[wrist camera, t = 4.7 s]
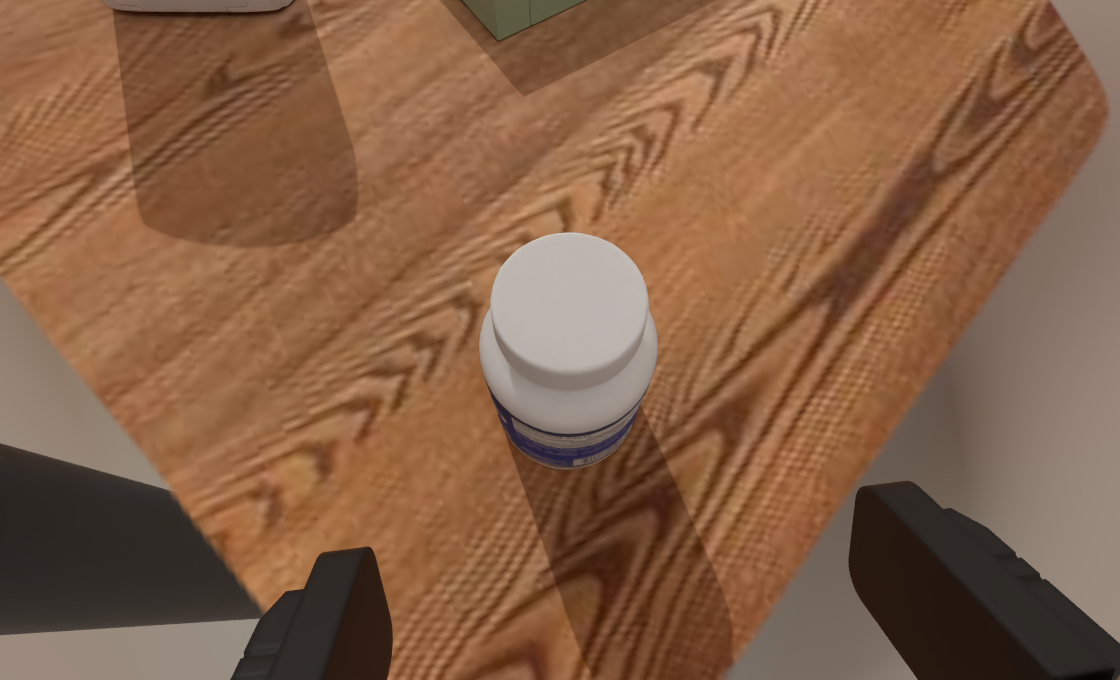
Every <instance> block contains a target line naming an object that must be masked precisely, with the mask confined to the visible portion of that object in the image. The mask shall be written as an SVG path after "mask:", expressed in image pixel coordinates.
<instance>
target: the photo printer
mask: <svg viewBox="0 0 1120 680" xmlns="http://www.w3.org/2000/svg"><path fill="white" fill-rule="evenodd" d="M102 1H103V3H104V4H105V5H107V6H108V7H110V8H113V9H117V10H125V11H140V12H144V11H148V12H261V11H271V10H278V9H281V7H286V6H288V5H289V4H290V3H291V2H292V1H293V0H102Z"/></svg>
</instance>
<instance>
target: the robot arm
mask: <svg viewBox="0 0 1120 680" xmlns="http://www.w3.org/2000/svg"><path fill="white" fill-rule="evenodd" d="M849 571H850V576H851V579H852V583H853V585H854V588H855V590H856V592H857V594H858V596H859V598H860V599H861V601H862V602H863V604H864V605H865V607H866V608H867V609H868V611H869V612H870V613H871V615H872V616H873V618H874V619H875V620H876V622H877V623H878V624H879V626H880V627H881V629H882V630H883V631H884V633H885V634H886V636H887V637H888V639H889V640H890V641H891V643H892V644H893V646H894V647H895V648H896V650H897V651H898V652H899V654H900V655H901V656H902V658H903V659H904V661H905V662H906V664H907V665H908V666H909V667H910V669H911V671H912V672H913V673H914V675H915V676H916V678H917V679H918V680H1120V643H1118V642H1117V641H1116V640H1115V639H1114V638H1113V637H1112V636H1110V635H1109V634H1108V633H1107V632H1106V631H1105V630H1104V629H1102V628H1101V627H1100V626H1099V625H1098V624H1097V623H1096V622H1094V621H1093V620H1092V619H1091V618H1090V617H1089V616H1087V615H1086V614H1085V613H1084V612H1083V611H1082V610H1081V609H1080V608H1078V607H1077V606H1076V605H1075V604H1074V603H1073V602H1071V601H1070V600H1069V599H1068V598H1067V597H1066V596H1065V595H1063V594H1062V593H1061V592H1060V591H1059V590H1058V589H1057V588H1056V587H1054V586H1053V585H1052V584H1051V583H1050V582H1049V581H1047V580H1046V579H1044V580H1042V579H1041V577H1040V573H1038V572H1037V571H1036V570H1035V569H1034V568H1033V567H1032V566H1030V565H1029V564H1028V563H1027V562H1026V561H1025V560H1024V559H1022V558H1017V556H1016V554H1015V552H1014V551H1013V550H1012V549H1011V548H1010V547H1009V546H1008V545H1006V544H1005V543H1004V542H1003V541H1002V540H1001V539H1000V538H998V537H997V536H996V535H995V534H994V533H992V531H990V530H989V529H988V528H987V527H985V526H983V525H981V524H979V523H978V522H976V521H974V520H972V519H970V518H968V517H966V516H964V515H962V514H961V513H959V512H957V511H955V510H953V509H951V508H948V509H943V508H941V507H940V506H939V505H938V504H937V503H936V502H935V501H934V500H933V499H932V498H931V497H930V496H928V495H927V494H926V493H925V492H924V491H923V490H922V489H921V488H920V487H919V486H917V485H916V484H914V483H913V482H910V481H901V482H893V483H886V484H878V485H869V486H863V487H861V488H860V489H859V490H858V492H857V494H856V499H855V508H854V516H853V525H852V533H851V542H850V551H849ZM392 645H393V634H392V622H391V617H390V613H389V609H388V605H387V601H386V597H385V593H384V589H383V585H382V581H381V577H380V573H379V569H378V565H377V561H376V557H375V554H374V552H373V550H372V548H370V547H362V548H354V549H346V550H338V551H330V552H323V553H321V554H320V555H319V556H318V558H317V560H316V562H315V564H314V566H313V569H312V571H311V573H310V576H309V578H308V581H307V583H306V585H305V588H304V589H301V590H293V591H286V592H285V593H284V594H283V595H282V596H281V597H280V598H279V599H278V601H277V602H276V603H275V604H274V605H273V606H272V607H271V608H270V609H269V610H268V611H267V612H266V613H265V615H264V616H263V617H262V618H261V619H260V620H259V622H258V624H257V626H256V628H255V630H254V632H253V634H252V636H251V638H250V640H249V643H248V645H247V647H246V649H245V651H244V658H242V659H240V661H239V663H238V665H237V667H236V669H235V672H234V673H233V676H232V678H231V680H387V677H388V672H389V667H390V663H391V657H392Z"/></svg>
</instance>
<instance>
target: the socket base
mask: <svg viewBox="0 0 1120 680" xmlns="http://www.w3.org/2000/svg"><path fill="white" fill-rule="evenodd" d="M462 1H463V2H464V3H465V4H466V5H467V6H468V8H469V9H470V10H471V11H472V12H473V13H474V14H475V15H476V17H477V18H478V19H479V20H480V21H481V22H482V23H483V24H484V26H485V27H486V28H487V29H488V30H489V31H490V32H491V34H492V35H493V36H494V37H495V38H496V39H497V40H498V41H500V40H502V39H504V38H506V37H508V36H510V35H512V34H515V33H517V32H519V31H521V30H523V29H525V28H527V27H529V26H530V25H531V26H532V25H534V24H536V23H538V22H540V21H542V20H545V19H547V18H549V17H551V16H553V15H555V14H557V13H559V12H562V11H564V10H566V9H568V8H570V7H572V6H574V5H576V4H578V3H581V2H583V1H585V0H462Z"/></svg>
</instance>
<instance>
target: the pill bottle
mask: <svg viewBox="0 0 1120 680" xmlns="http://www.w3.org/2000/svg"><path fill="white" fill-rule="evenodd" d="M657 351H658V340H657V332H656V328H655V324H654V320H653V318H652V315H651V313H650V311H649V301H648V293H647V288H646V284H645V282H644V279H643V277H642V275H641V273H640V271H639V269H638V268H637V266H636V265H635V263H634V262H633V261H632V260H631V259H630V258H629V257H628V256H627V255H626V254H625V253H624V252H623V251H622V250H620V249H619V248H618V247H616V246H615V245H613V244H612V243H610V242H607V241H605V240H603V239H601V238H598V237H595V236H591V235H586V234H582V233H557V234H551V235H547V236H543V237H541V238H538V239H535V240H533V241H531V242H529V243H527V244H526V245H524V246H522V247H521V248H519V249H518V250H517V251H516V252H514V253H513V254H512V255H511V256H510V257H509V258H508V259H507V260H506V262H505V263H504V264H503V265H502V267H501V269H500V270H499V272H498V274H497V276H496V278H495V281H494V284H493V287H492V292H491V298H490V308H489V310H488V312H487V314H486V316H485V319H484V321H483V325H482V328H481V333H480V341H479V353H480V362H481V366H482V370H483V374H484V377H485V380H486V383H487V386H488V388H489V391H490V394H491V397H492V400H493V402H494V405H495V408H496V410H497V413H498V415H499V418H500V421H501V424H502V426H503V428H504V430H505V432H506V434H507V436H508V438H509V439H510V441H511V442H512V443H513V445H514V446H515V447H516V448H517V449H518V450H519V451H520V452H521V453H523V454H524V455H525V456H526V457H528V458H529V459H531V460H533V461H535V462H537V463H539V464H541V465H544V466H547V467H551V468H555V469H564V470H570V469H580V468H584V467H588V466H591V465H593V464H596V463H598V462H600V461H602V460H604V459H605V458H607V457H608V456H610V455H611V454H612V453H613V452H614V451H616V450H617V449H618V448H619V446H620V445H621V444H622V443H623V441H624V440H625V438H626V437H627V435H628V433H629V431H630V429H631V427H632V425H633V423H634V420H635V418H636V415H637V412H638V409H639V407H640V404H641V402H642V400H643V397H644V395H645V393H646V391H647V389H648V387H649V383H650V380H651V378H652V375H653V372H654V369H655V365H656V360H657Z"/></svg>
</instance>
